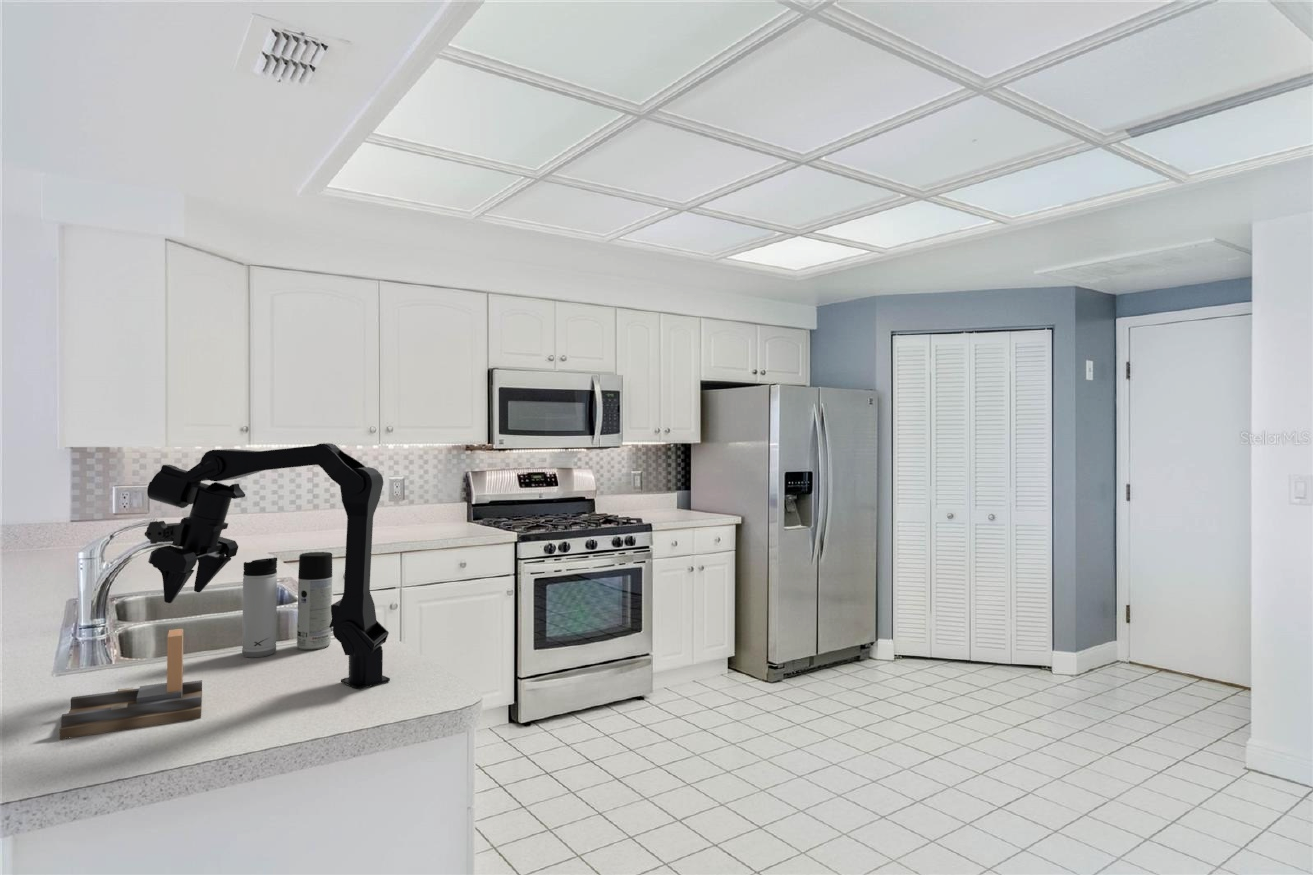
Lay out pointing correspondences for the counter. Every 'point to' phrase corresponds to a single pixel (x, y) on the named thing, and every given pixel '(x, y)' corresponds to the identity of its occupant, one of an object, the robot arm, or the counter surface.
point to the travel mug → (259, 608)
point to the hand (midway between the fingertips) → (182, 597)
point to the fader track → (128, 711)
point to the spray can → (314, 600)
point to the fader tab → (173, 673)
